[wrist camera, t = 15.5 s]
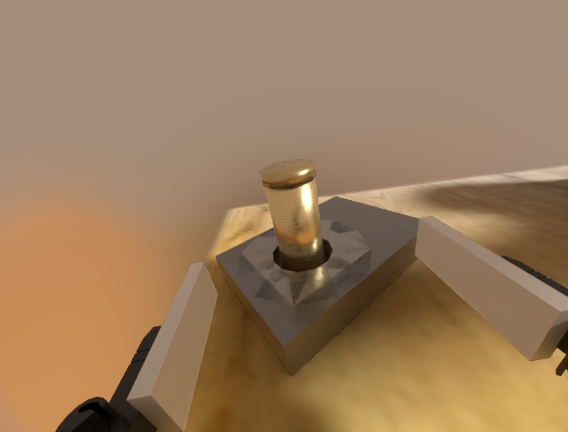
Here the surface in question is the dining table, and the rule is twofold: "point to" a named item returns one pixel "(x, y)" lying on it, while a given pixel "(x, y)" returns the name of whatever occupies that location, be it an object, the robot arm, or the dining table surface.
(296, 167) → the amber cylindrical peg
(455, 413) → the dining table surface
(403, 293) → the dining table surface
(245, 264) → the jig
